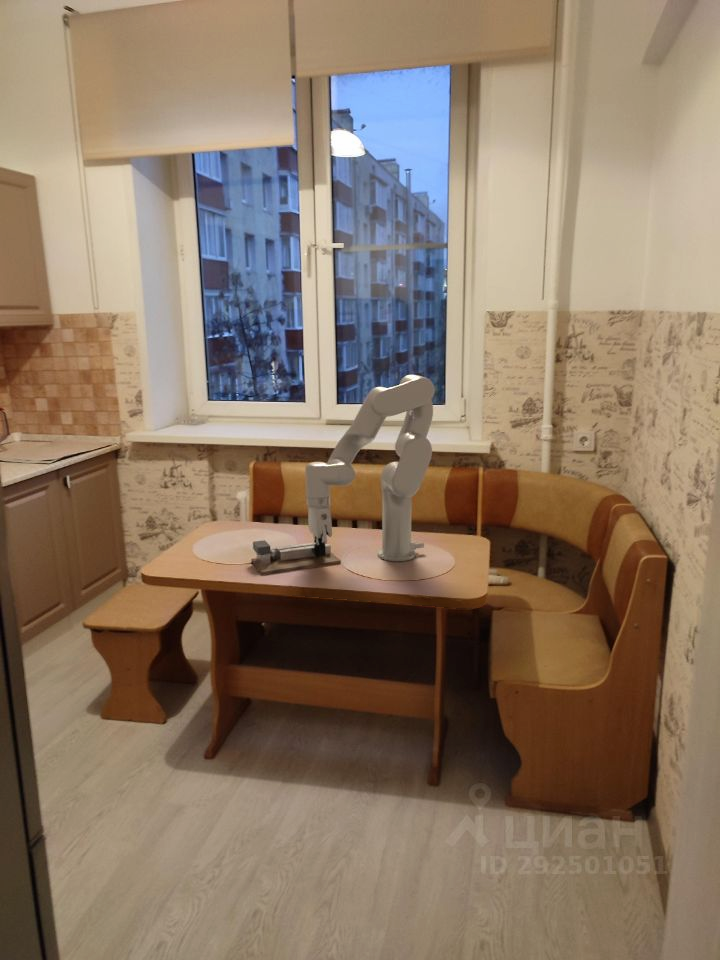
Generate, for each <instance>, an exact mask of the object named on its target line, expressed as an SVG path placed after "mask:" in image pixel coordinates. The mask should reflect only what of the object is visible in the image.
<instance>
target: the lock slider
mask: <svg viewBox="0 0 720 960" xmlns="http://www.w3.org/2000/svg"><path fill="white" fill-rule="evenodd" d="M270 548H271V545H270V544H269V543H268V542H267V540H265V539H263V540H257V541H255V540H254V541H252V549H253V550H254V552H255V553H257V554H258V555H261V554H268V553H271V552H270ZM257 554H256V555H257Z"/></svg>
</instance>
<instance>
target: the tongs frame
mask: <svg viewBox="0 0 720 960" xmlns="http://www.w3.org/2000/svg"><path fill="white" fill-rule="evenodd" d="M326 544H328V541H327V542H326ZM307 546H314V541H312V542H308V543H299V544H291V545H285V546H276V547H270V549H275V550H276V558H278V559H279V550H284V549H291V548H299V547H307ZM255 553H256V552H255ZM256 558H257V560H258V561H259V563H260V564H261V565H266V564H270V553H268V554H261V555H258V554H257V553H256Z"/></svg>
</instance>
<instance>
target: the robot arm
mask: <svg viewBox="0 0 720 960" xmlns="http://www.w3.org/2000/svg"><path fill="white" fill-rule="evenodd" d="M435 392H436V391H435V386H434V384H433V382H432V380H431V379H429V378H428V377H425V376H421V375H418V374H408V375H405V376H404V377H402V378H401V380H400V381H399V385H395V386H392V387H388V388H387V387H384V386H377V387H374V388H372V389H371V390H370V391H369V392H368V394H367V395H366V397H365V400H364V401H363V403H362V405H361V406H360V408H359V409H358V410H359V411H358V412H357V414H356V416H355V418H354V419H353V422H352V423H351V425H350V427H349V428H348V429H347V430H346V431H345V433H344V435H342V437H341V438H340V440H339V441H338V442H337V444H336V446H335V447H334V449H333V450H332V452H331V454H330V456H329V458H328V460H327V462H323V461H313V462H309V463H307V464H306V465H305V468H304V469H305V472H304V473H305V492H306V493H305V496H306V498H305V499H306V507H307V509H308V512H307V513H308V514H307V517H308V518H307V519H308V530H309V533H310V534H312V535H313V542H314V551H315V556H316V557H321V556H325V555H326V552H325V544H326V542H327V543H328V538H329V537H330V538H331V537H333V526H332V515H331V509H330V506H331V489H330V488H331V486H335V487H336V486H337V487H346V486H349V485H351V484H352V483H353V482H354V481H355V478H356V471H355V469H354V467H353V466H352V463H353V462H354V460H355V458H356V456H357V454H358V453H359V452H360V450H362V449H363V447H365V446H368V445H369V444H371V443H372V442H373V441H374V440H375V439H376V436H377V435H378V433H379V432H380V430H381V428H382V426H383V424H384V422H385V420H386V418H387V417H393V416H397V415H401V414H402V413H406V414H405V417H404V420H403V424H402V426H401V429H400V431H399V433H398V436H397V439H396V441H395V444H394V450H395V453H396V455H397V456H398V458H399V460H398V461H392V462H391V461H390V462H389V463H388V464H386V465H385V466H384V467H383V469H382V470H381V474H380V485H381V497H382V511H381V512H382V517H381V518H382V520H381V523H382V524H381V526H382V532H381V533H382V534H381V535H382V537H381V539H382V541H381V542H382V543H381V545H382V547H381V548H380V549H378V550H377V557H378V559H379V558H380V559H382V560H383V559H384V561H387V560H388V562H407V561H410V560H411V561H412V560H413V559H414V558H415V557H416V551H415V550H416V549H424V548H425V543H424V542H423V541H420V542H418V541H417V540H416V541H412V511H413V510H412V506H413V504H412V497H413V496H414V495H416V494H417V492H418V491H419V490H420V488H421V485H422V483H423V481H424V479H425V476H426V473H427V471H428V468H429V465H430V463H431V460H432V455H433V446H432V443H431V442H430V440H429V439H428V438H427V437H428V434H429V431H430V427H431V424H432V421H433V416H434V405H433V401H432V399H433V398H434V396H435ZM327 536H328V537H327Z"/></svg>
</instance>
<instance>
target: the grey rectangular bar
mask: <svg viewBox="0 0 720 960" xmlns="http://www.w3.org/2000/svg"><path fill="white" fill-rule="evenodd" d="M331 549H332V548H331V544H330V543H327V544H325V552H326V555H327V554H331V553H332V552H331ZM270 552H271V553H270V560H271V561H273V560H276V550H275V549H270ZM313 556H315V551H314V546H307V547H299V548H291V549H284V550H279V559H280V561H284V560H291V559H298V558H306V557H313Z"/></svg>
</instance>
